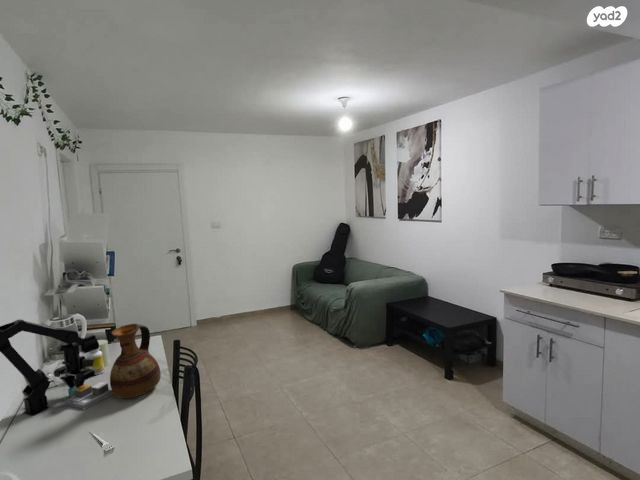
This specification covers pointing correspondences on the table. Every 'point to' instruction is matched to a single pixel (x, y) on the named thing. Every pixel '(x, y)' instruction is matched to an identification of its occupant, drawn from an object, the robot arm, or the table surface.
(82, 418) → the table surface
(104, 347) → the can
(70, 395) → the teal cube
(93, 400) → the breaker panel
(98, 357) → the supplement bottle
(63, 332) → the robot arm
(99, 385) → the block
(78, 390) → the block
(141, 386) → the ceramic pitcher
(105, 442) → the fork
